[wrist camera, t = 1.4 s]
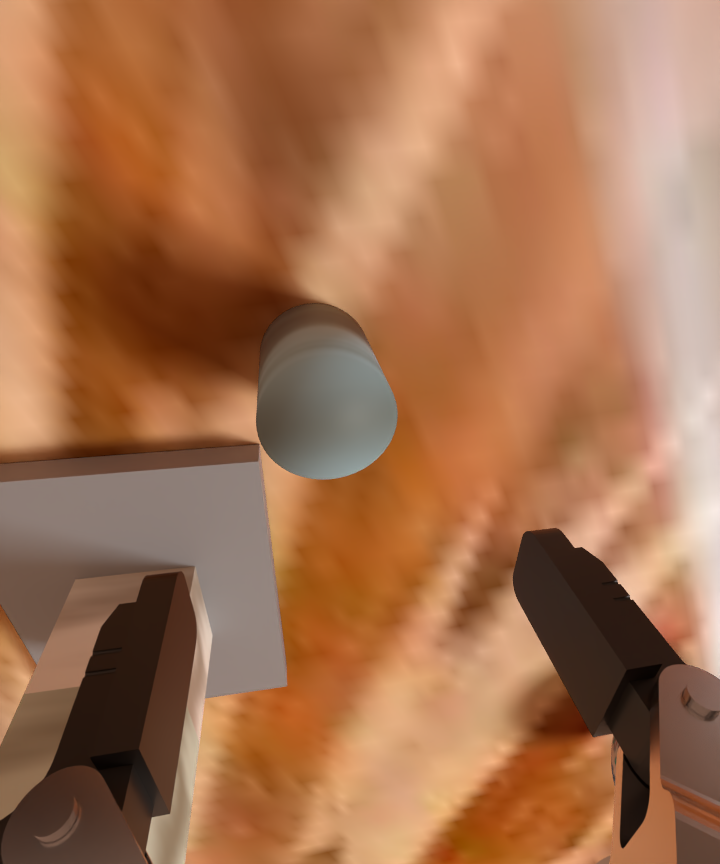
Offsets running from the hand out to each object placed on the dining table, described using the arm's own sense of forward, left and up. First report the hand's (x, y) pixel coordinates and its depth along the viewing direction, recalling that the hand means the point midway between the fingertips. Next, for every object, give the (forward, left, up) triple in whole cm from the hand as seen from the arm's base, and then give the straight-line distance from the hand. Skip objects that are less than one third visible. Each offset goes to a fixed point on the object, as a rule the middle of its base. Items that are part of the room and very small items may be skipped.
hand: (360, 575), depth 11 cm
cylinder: (0, 0, -13) cm, 13 cm away
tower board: (+14, -10, -13) cm, 21 cm away
